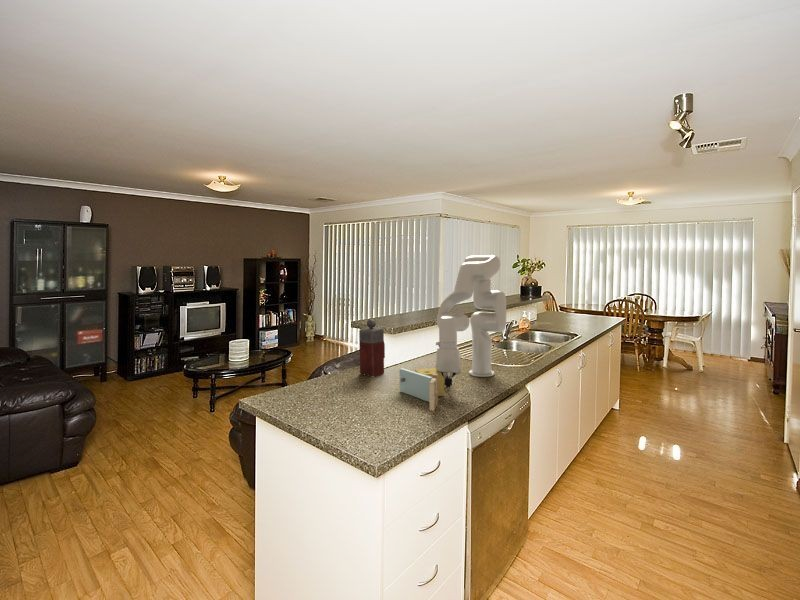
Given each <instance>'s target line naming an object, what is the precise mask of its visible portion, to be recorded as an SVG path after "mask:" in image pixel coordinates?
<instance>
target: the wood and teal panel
mask: <svg viewBox="0 0 800 600" xmlns="http://www.w3.org/2000/svg"><path fill="white" fill-rule="evenodd" d="M447 376H448V377H449V372H447ZM442 377H443V376H442ZM443 380H444V384H443V387H444V389H446V385H445V378H444V377H443ZM437 404H439V396H438V374H433V375H432V379H431V381H430V402H429V411H430V410H432V411H433V412H434V411H435V409H436V407H437V406H438V405H437ZM436 405H437V406H436ZM432 411H431V412H432Z"/></svg>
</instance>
